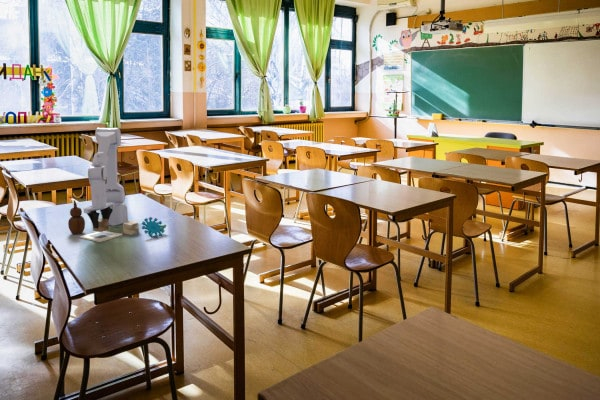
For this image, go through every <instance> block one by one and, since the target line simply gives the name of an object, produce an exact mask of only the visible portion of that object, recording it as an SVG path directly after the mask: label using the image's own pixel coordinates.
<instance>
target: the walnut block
mask: <svg viewBox="0 0 600 400" xmlns="http://www.w3.org/2000/svg"><path fill="white" fill-rule="evenodd" d="M109 230H110V225H109V221H108V219H103V218H102V217H99V219H98V228H94V227H93V226H92V231H93V232H103V231H109Z"/></svg>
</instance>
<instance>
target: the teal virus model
mask: <svg viewBox="0 0 600 400" xmlns="http://www.w3.org/2000/svg"><path fill="white" fill-rule="evenodd" d="M141 225H142V227H141V230H144V234H145V235H148V236H149V237H150V238H152V237H154V238H156V239H157V238H158V236H159V237H162V236H163V234H164V232H165V229H166V227H167V224H163V222H162V221H161V220H159V221H158V219H157V217H155V218H154V220H153V217H151V216H150V217H148V218H147V217H145V218H144V221H142V222H141ZM153 234H154V236H153Z"/></svg>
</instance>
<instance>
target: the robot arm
mask: <svg viewBox="0 0 600 400" xmlns="http://www.w3.org/2000/svg"><path fill="white" fill-rule="evenodd" d="M94 133H95V134H94V135H95V136H94V137H95V140H96V142H97V143H98V146H97V152H95V153H94V155H93V159H92V163H91V166H90V167H88V170H87V177H88V181H89V185H90V195H91V205H90V206H87V207H83V214H86V215H87V216H88V218H89V219H90V221H91V225H92V228H93V227H94V228H98V219H99V218H100V214H101V218H103V219H108V221H109V226H118V225H123V223H127V222H130V220H129V217H128V216H129V215H128V213H129V212H128V206H127V205H126V204H125V200H126V194H125V188H124V186H123V185H122V184H120V183H119V181H118V153H117V152H118V147H120V146H121V144H122V133H121V129H120V128H119V127H97V128H96V129H95V132H94ZM97 211H100V212H97Z"/></svg>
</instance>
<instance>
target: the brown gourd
mask: <svg viewBox="0 0 600 400" xmlns="http://www.w3.org/2000/svg"><path fill="white" fill-rule="evenodd" d="M69 215H70V216H71V217H70V218H69V219H68V222H67V224H68V225H67V226H68V230H69V231H70V234H73V235H80V234H82V233H83V232H84V231H85V229H86V228H85V227H86V220H85V218H84V216H82V215H83V210H82V208H80V207H78V204H77V202H76V200H73V207H71V209H70V210H69Z"/></svg>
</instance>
